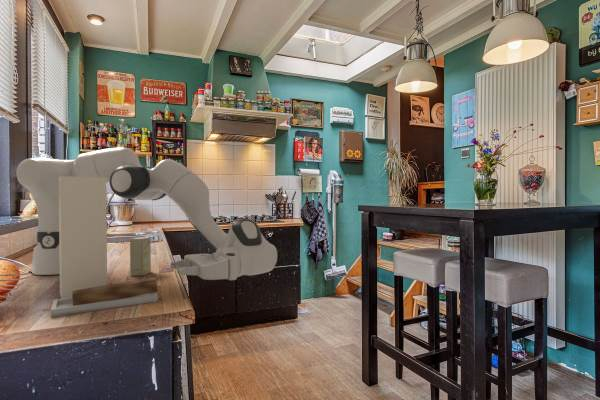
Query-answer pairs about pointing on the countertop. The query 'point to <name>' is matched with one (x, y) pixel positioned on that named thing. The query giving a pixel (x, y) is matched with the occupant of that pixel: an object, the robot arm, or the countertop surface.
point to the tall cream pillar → (82, 233)
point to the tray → (98, 304)
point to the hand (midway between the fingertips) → (174, 268)
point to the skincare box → (140, 256)
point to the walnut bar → (114, 291)
